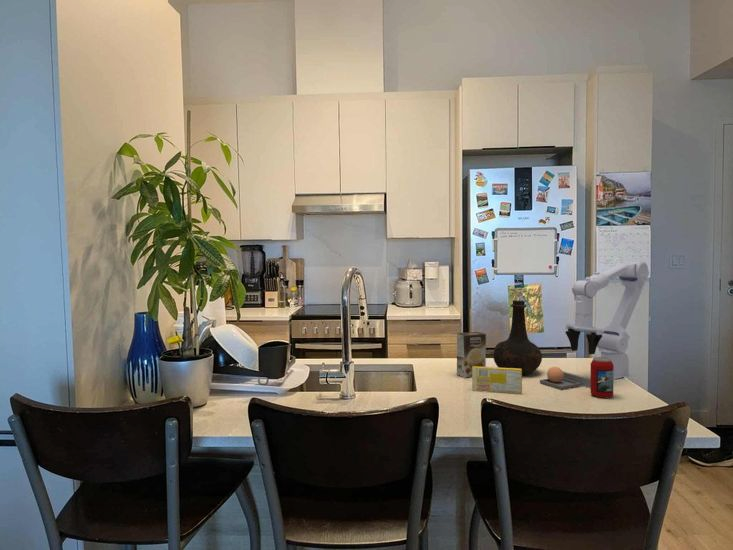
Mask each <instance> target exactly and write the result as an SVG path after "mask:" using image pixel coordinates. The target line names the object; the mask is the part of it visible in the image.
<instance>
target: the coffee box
mask: <svg viewBox="0 0 733 550" xmlns="http://www.w3.org/2000/svg"><path fill="white" fill-rule="evenodd" d="M486 347H487V334H486V333H483V332H478V331H473V332H472V331H471V332H469V331H468V332H457V333H456V375H457V374H458V375H457V376H459V375H460V377H461V376H462V378H463V377H464V379H468V378H467V377H471V378H472V367H473V366H477V367H487V366H486V365H487V363H486V362H487V361H486V359H487V357H486V356H487V355H486V354H487V352H486V351H487V350H486V349H487V348H486Z"/></svg>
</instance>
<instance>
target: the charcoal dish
mask: <svg viewBox="0 0 733 550" xmlns="http://www.w3.org/2000/svg"><path fill="white" fill-rule="evenodd" d="M540 383H541V385H544V386H547V385H548V387H550V386H551V388H553V387H554V389H557V390H560V389H561V390H560V391H564V389H565V390H570V389H569V388H571V389H574V387H576V388H580V387H579V386H581V383H579V382H575V381H572V380H568V379H565V378H563V379H562V380H561V381H560V382H557V383H554V382H552V381H550V380H549V379H548V378H544V379H539V384H540ZM581 387H582V386H581Z"/></svg>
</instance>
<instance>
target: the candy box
mask: <svg viewBox="0 0 733 550" xmlns="http://www.w3.org/2000/svg"><path fill="white" fill-rule="evenodd" d="M471 382H472V383H471V389H472V390H471V391H473V392H483V391H487V392H486V393H499V394H512V395H513V394H515V395H523V375H522V369H517V368H498V366H497V367H496V366H495V367H491V366H486V367H477V366H473V367H472V377H471Z"/></svg>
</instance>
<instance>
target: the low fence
mask: <svg viewBox="0 0 733 550" xmlns="http://www.w3.org/2000/svg"><path fill="white" fill-rule="evenodd" d="M562 371H563V370H562ZM563 374H564V376H563V378H565V379H568V380H572V381H575V382H579V383H581V385H582V386H581V387H584V386H586V387H585V388H587V387H589V388H588V389H590V377H587V376H586V377H585V376H581V375H577V374H575V373H571V372H567V371H563Z"/></svg>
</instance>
